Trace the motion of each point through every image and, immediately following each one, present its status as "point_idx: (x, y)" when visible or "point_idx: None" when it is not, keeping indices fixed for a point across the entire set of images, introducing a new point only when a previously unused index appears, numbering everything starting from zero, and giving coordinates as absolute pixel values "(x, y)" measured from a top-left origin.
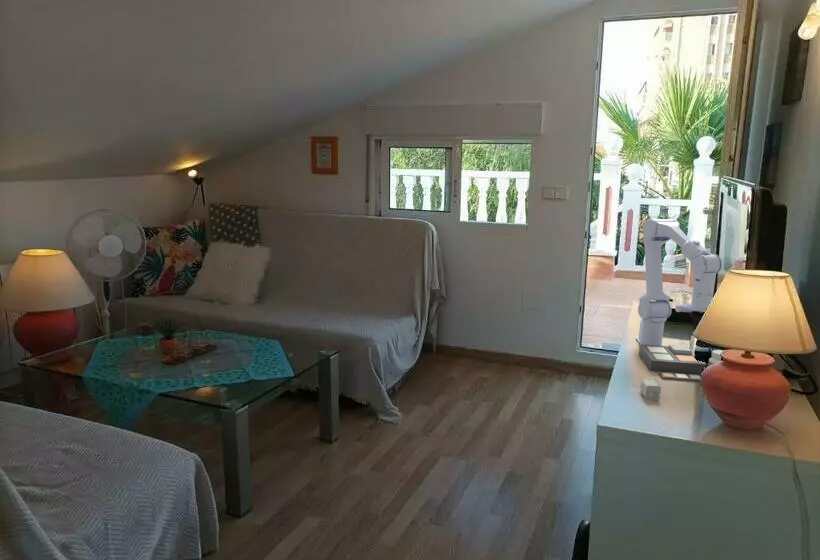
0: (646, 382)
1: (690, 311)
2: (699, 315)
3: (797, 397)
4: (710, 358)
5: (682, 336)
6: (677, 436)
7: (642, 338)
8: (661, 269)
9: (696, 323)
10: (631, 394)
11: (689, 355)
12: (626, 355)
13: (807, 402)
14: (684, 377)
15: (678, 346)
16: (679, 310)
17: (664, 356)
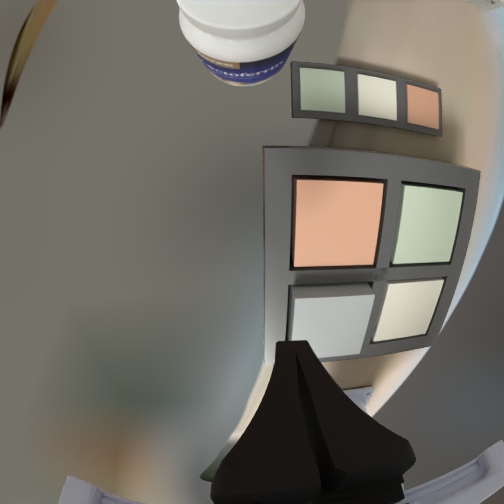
0: None
1: (406, 496)
2: (351, 481)
3: (29, 49)
4: (298, 16)
5: (227, 450)
6: None
7: (366, 411)
8: None
9: (349, 406)
10: (497, 10)
11: (307, 271)
12: (451, 305)
13: (27, 26)
14: (372, 78)
15: (332, 340)
16: (495, 456)
17: (424, 231)
